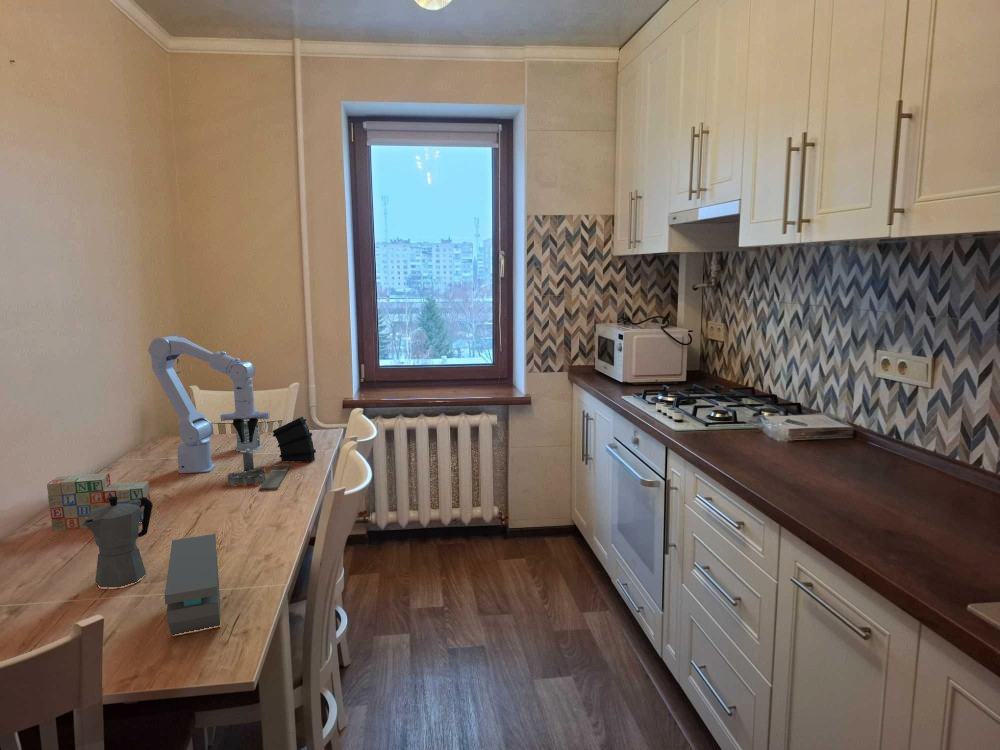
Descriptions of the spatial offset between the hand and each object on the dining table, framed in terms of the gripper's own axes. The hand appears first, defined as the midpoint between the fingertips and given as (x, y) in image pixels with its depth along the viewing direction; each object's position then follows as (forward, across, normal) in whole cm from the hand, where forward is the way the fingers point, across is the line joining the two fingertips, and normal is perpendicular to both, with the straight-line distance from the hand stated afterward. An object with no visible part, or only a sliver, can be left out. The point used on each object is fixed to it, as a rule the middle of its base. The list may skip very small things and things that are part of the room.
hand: (247, 441), depth 214 cm
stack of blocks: (+10, -27, -41) cm, 50 cm away
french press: (+10, -5, +28) cm, 30 cm away
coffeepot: (+10, -9, -76) cm, 77 cm away
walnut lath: (+9, +10, -10) cm, 17 cm away
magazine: (+10, +13, +9) cm, 19 cm away
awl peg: (+9, 0, 0) cm, 9 cm away
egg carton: (+10, +2, -13) cm, 16 cm away
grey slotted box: (+10, +10, -96) cm, 97 cm away
